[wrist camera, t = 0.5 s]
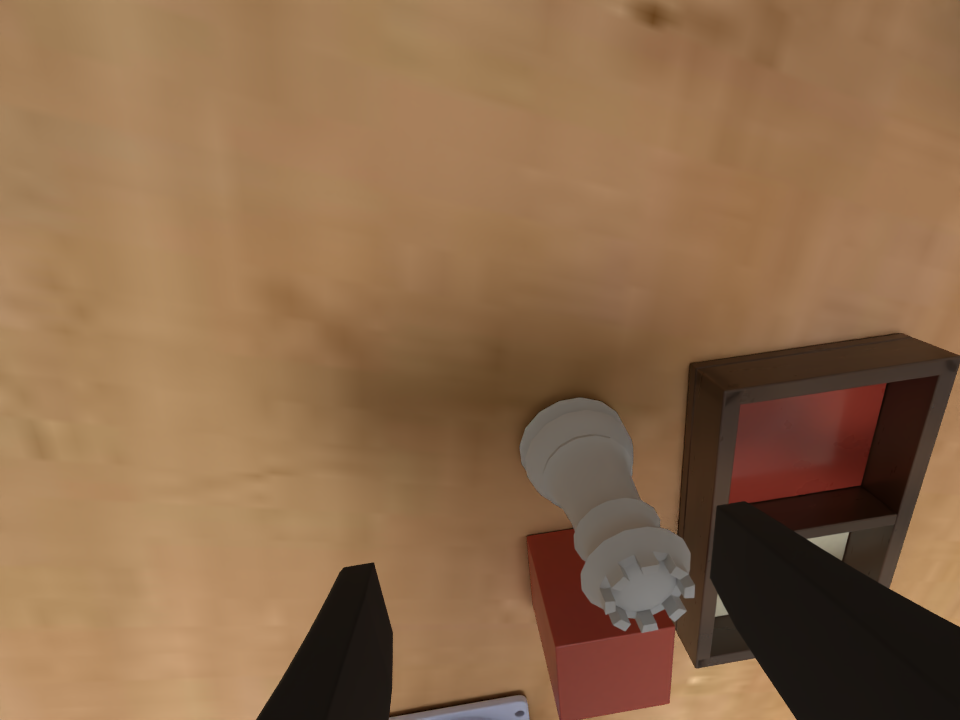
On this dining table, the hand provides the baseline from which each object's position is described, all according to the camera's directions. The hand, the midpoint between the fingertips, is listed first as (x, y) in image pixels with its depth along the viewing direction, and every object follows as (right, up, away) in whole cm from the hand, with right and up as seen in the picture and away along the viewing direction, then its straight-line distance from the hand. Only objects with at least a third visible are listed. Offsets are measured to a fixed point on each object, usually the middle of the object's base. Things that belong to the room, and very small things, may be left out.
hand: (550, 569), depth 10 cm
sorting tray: (+12, -2, +13) cm, 18 cm away
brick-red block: (+3, -5, +13) cm, 14 cm away
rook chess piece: (+2, +1, +10) cm, 11 cm away
